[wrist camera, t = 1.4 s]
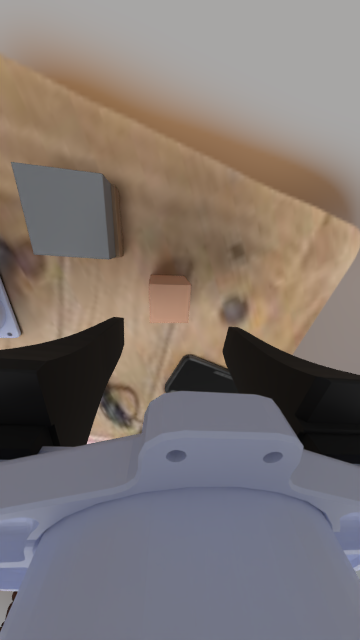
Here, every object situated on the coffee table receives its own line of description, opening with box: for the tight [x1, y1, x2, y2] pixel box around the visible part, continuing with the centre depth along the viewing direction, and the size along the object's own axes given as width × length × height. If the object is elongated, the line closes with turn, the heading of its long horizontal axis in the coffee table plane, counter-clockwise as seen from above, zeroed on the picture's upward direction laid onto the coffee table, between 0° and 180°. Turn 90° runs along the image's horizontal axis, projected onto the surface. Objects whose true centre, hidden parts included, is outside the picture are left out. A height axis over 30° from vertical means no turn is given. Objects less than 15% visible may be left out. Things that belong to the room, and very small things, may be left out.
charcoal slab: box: [11, 162, 116, 259], centre depth 15 cm, size 6×6×2 cm
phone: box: [165, 355, 239, 394], centre depth 29 cm, size 8×1×15 cm
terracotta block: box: [149, 275, 191, 323], centre depth 20 cm, size 4×4×5 cm
